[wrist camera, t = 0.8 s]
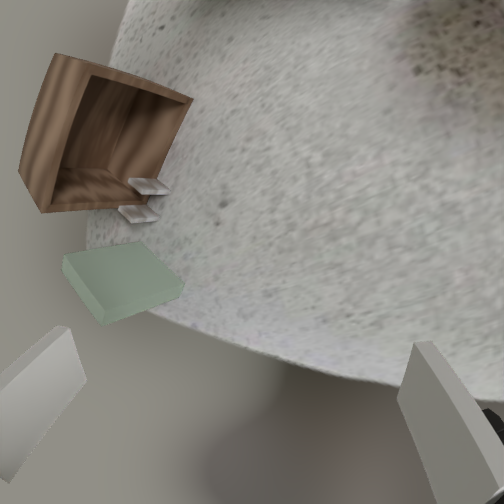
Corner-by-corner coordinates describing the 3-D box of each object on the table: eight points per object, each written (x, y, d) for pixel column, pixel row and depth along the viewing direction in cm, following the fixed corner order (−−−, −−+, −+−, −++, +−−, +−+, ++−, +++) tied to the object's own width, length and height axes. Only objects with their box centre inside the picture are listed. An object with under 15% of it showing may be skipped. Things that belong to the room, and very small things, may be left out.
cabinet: (106, 174, 54) (17, 173, 37) (145, 79, 47) (54, 52, 29) (158, 220, 49) (50, 232, 31) (211, 106, 41) (101, 68, 24)
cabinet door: (136, 254, 53) (61, 270, 39) (141, 241, 51) (63, 254, 37) (178, 297, 49) (101, 326, 35) (185, 283, 48) (105, 311, 34)
